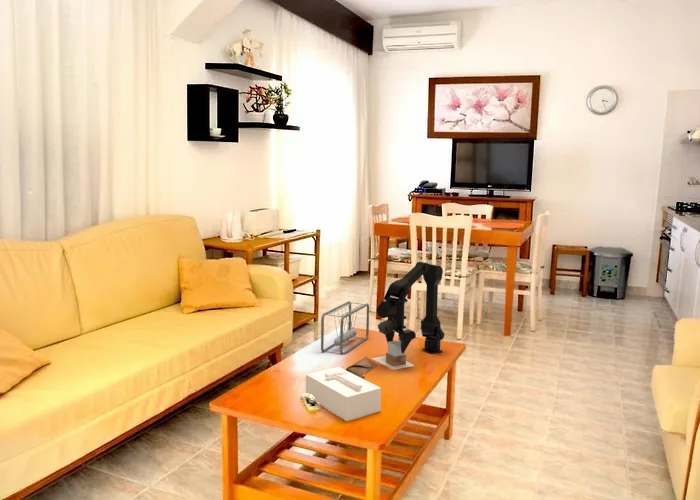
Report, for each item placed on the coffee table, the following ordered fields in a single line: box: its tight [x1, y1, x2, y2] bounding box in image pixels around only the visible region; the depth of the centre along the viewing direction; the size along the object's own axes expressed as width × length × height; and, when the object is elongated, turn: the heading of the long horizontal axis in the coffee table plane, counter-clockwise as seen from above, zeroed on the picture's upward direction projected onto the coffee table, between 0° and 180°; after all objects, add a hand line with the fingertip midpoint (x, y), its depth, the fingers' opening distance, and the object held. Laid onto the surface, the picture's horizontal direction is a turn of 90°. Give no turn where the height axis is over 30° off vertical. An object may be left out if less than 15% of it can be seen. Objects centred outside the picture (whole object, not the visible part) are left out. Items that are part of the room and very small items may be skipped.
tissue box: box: [305, 366, 382, 422], centre depth 212 cm, size 14×25×11 cm, turn 36°
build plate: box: [371, 355, 415, 371], centre depth 254 cm, size 11×16×1 cm
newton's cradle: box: [320, 300, 370, 356], centre depth 277 cm, size 30×10×18 cm, turn 155°
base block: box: [385, 352, 407, 367], centre depth 252 cm, size 6×6×4 cm
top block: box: [387, 339, 406, 357], centre depth 252 cm, size 5×5×5 cm
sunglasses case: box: [345, 355, 379, 380], centre depth 246 cm, size 18×7×7 cm
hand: (396, 350), depth 252 cm, fingers open, 9 cm apart
